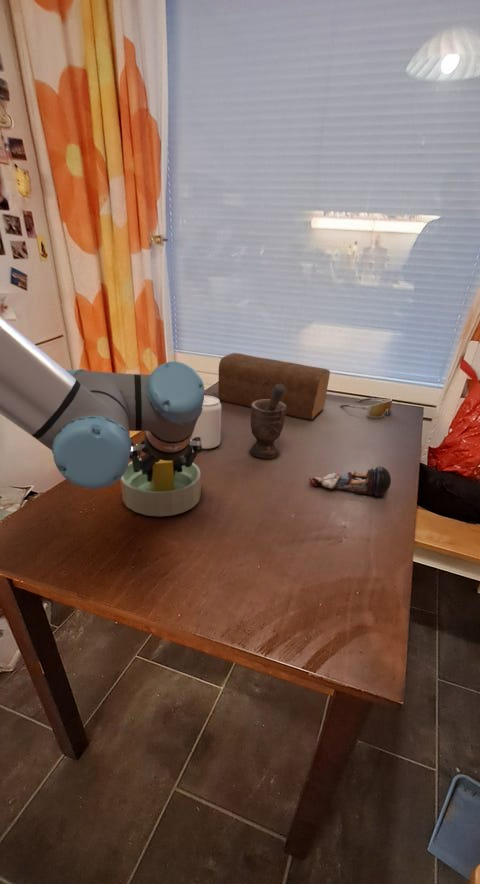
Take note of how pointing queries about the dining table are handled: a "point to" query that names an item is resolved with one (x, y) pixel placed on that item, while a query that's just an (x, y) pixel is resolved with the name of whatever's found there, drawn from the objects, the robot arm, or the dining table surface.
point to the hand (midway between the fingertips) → (159, 474)
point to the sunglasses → (375, 407)
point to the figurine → (357, 481)
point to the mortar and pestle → (267, 423)
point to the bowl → (161, 492)
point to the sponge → (162, 476)
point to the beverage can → (209, 423)
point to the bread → (273, 383)
